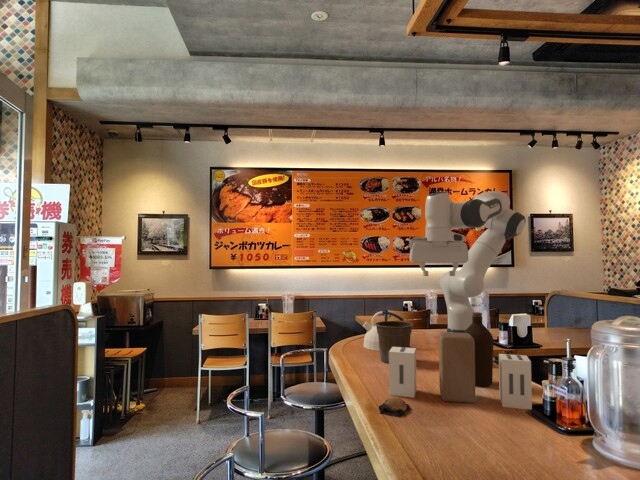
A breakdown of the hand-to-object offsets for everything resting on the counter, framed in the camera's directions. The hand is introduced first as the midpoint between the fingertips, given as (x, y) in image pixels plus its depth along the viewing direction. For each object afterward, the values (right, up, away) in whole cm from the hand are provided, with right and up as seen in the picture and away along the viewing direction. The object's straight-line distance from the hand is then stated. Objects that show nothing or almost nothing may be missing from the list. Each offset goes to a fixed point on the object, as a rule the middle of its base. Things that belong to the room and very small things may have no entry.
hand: (439, 276), depth 145 cm
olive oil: (+15, -39, +2) cm, 41 cm away
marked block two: (+18, -38, -19) cm, 46 cm away
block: (+2, -38, -14) cm, 40 cm away
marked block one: (-14, -38, -9) cm, 42 cm away
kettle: (-10, -42, +63) cm, 76 cm away
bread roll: (-20, -38, -24) cm, 49 cm away
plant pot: (-10, -40, +34) cm, 53 cm away
